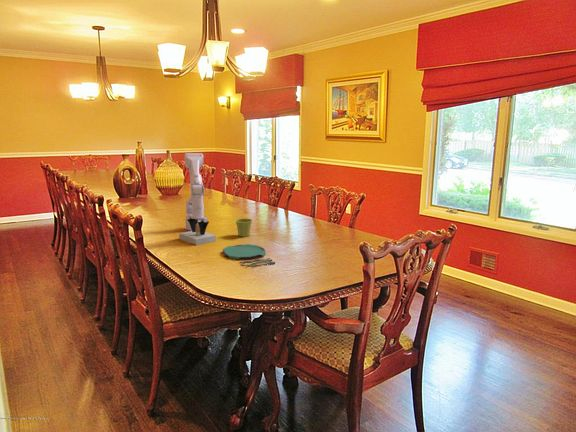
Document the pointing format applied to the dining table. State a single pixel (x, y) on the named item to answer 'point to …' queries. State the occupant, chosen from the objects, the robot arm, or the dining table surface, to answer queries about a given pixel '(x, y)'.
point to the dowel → (197, 230)
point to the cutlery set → (246, 253)
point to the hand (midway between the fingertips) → (198, 233)
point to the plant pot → (243, 227)
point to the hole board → (197, 238)
